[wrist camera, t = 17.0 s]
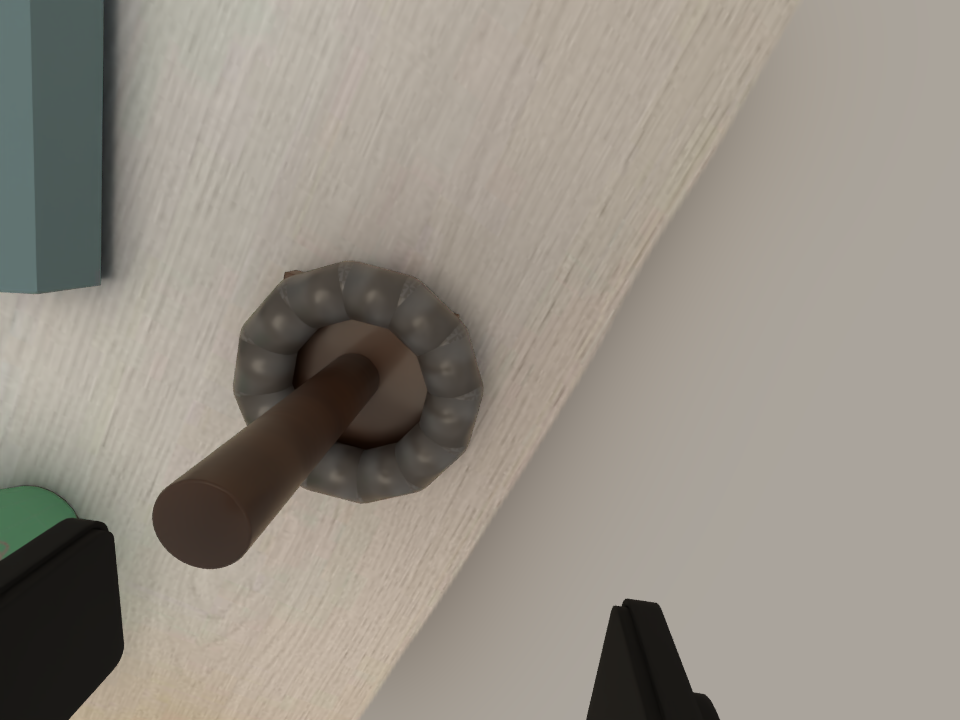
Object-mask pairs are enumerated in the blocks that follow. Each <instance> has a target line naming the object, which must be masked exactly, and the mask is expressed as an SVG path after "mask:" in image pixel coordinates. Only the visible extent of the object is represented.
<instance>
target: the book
mask: <svg viewBox="0 0 960 720" xmlns="http://www.w3.org/2000/svg"><path fill="white" fill-rule="evenodd" d="M103 16H104V0H0V292H10V293H28V294H40V293H48V292H55V291H62V290H69V289H76V288H84V287H91V286H98V285H101V209H102V113H103Z"/></svg>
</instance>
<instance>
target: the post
mask: <svg viewBox="0 0 960 720" xmlns="http://www.w3.org/2000/svg"><path fill="white" fill-rule="evenodd" d="M300 273H304V272H301V271H298V270H294V271H289V272H285V274H284V279H286V278H288V277H290V276H293V275H297V274H300ZM454 314H455V315H456V316H457V317H458V318H459V317H460V316H459V314H456V313H454ZM292 384H293V387H294V391H293V392H292V393H290V394H289V395H288V396H286V397H285V398H284V399H282V400H281V401H280V402H278V403H277V404H276V405H274V406H273V407H272V408H270V409H269V410H268V411H267V412H265V413H264V414H263V415H261V416H260V417H259V418H257V419H256V420H255V421H253V422H252V423H251V424H249V425H248V426H247V427H245V428H244V429H243V430H241V431H240V432H239V433H237V434H236V435H235V436H233V437H232V438H231V439H230V440H228V441H227V442H226V443H224V444H223V445H222V446H220V447H219V448H218V449H216V450H215V451H214V452H212V453H211V454H210V455H208V456H207V457H206V458H204V459H203V460H202V461H200V462H199V463H198V464H196V465H195V466H194V467H193V468H191V469H190V470H189V471H187V472H186V473H185V474H183V475H182V476H181V477H179V478H178V479H177V480H175V481H174V482H173V483H171V484H170V485H169V486H167V487H166V488H165V489H164V490H163V491H162V492H161V493H160V495H159V496H158V498H157V500H156V502H155V505H154V507H153V513H152V520H153V526H154V530H155V532H156V535H157V537H158V539H159V541H160V542H161V543H162V545H163V546H164V547H165V548H166V550H167V551H168V552H169V553H171V554H172V555H173V556H174V557H176V558H177V559H179V560H180V561H182V562H184V563H186V564H188V565H191V566H194V567H198V568H203V569H217V568H222V567H226V566H228V565H231V564H233V563H235V562H236V561H238V560H239V559H240V558H242V557H243V555H244V554H245V553H246V552H247V551H248V549H249V548H250V547H251V546H252V545H253V543H254V542H255V541H256V540H257V538H258V537H259V536H260V535H261V533H262V532H263V531H264V530H265V528H266V527H267V526H268V525H269V524H270V522H271V521H272V520H273V519H274V517H275V516H276V515H277V514H278V512H279V511H280V510H281V509H282V507H283V506H284V505H285V504H286V503H287V501H288V500H289V499H290V498H291V496H292V495H293V494H294V493H295V491H296V490H297V489H298V488H299V486H300V485H301V484H302V483H303V482H304V480H305V479H306V478H307V477H308V475H309V474H310V473H311V472H312V470H313V469H314V468H315V467H316V465H317V464H318V463H319V462H320V461H321V459H322V458H323V457H324V456H325V454H326V453H327V452H328V451H329V449H330V448H331V447H332V446H333V444H334V443H335V442H339V443H343V444H346V445H350V446H354V447H358V448H361V449H365V450H367V449H371V448H376V447H380V446H384V445H388V444H393V443H397V442H399V441H400V440H401V439H402V438H403V437H404V436H405V435H406V434H407V433H408V432H409V431H410V430H411V429H412V428H413V427H414V426H415V425H416V424H417V423H418V422H419V421H420V418H421V414H422V410H423V406H424V402H425V398H426V394H427V387H426V384H425V381H424V377H423V374H422V371H421V368H420V365H419V361H418V358H417V356H416V355H415V354H414V353H413V352H412V351H411V350H410V349H409V348H408V347H407V346H406V345H405V344H404V343H403V342H402V341H401V340H400V339H399V338H398V337H396V336H395V335H394V334H393V333H392V332H391V331H390V330H389V329H387V328H383V327H379V326H375V325H372V324H368V323H364V322H361V321H357V320H353V319H351V320H347V321H343V322H340V323H336V324H332V325H329V326H325V327H321V328H319V329H318V330H317V331H316V332H315V333H314V334H313V335H312V336H311V337H310V339H309V340H308V341H307V342H306V343H305V344H304V345H303V346H302V347H301V348H300V349H299V351H298V352H297V358H296V364H295V370H294V376H293V382H292Z"/></svg>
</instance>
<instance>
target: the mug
mask: <svg viewBox="0 0 960 720" xmlns="http://www.w3.org/2000/svg"><path fill="white" fill-rule="evenodd" d="M66 518H77V516H76V514H75V512H74V510H73V509H72V508H71V507H70V506H69V505H68V504H67V503H66V501H65V500H63V499H62V498H60V497H59V496H58V495H56V494H55V493H53V492H51V491H48V490H46V489H43V488H41V487H34V486H20V487H14V488H7V489H0V561H1V560H2V559H4V558H5V557H7V556H8V555H10V554H11V553H13V552H14V551H16V550H18V549H19V548H21V547H22V546H24V545H25V544H27V543H28V542H30V541H31V540H33V539H34V538H36V537H37V536H39V535H40V534H42V533H43V532H45V531H46V530H48V529H50V528H51V527H53V526H54V525H56V524H57V523H59V522H60V521H62V520H64V519H66Z"/></svg>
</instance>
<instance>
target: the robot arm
mask: <svg viewBox="0 0 960 720" xmlns="http://www.w3.org/2000/svg"><path fill="white" fill-rule="evenodd" d="M123 650H124V639H123V628H122V617H121V607H120V596H119V585H118V575H117V564H116V554H115V543H114V536H113V534H112V533H111V532H109V531H108V528H107V526H106V525H105V523H103V522H100V521H93V520H86V519H79V518H66V519H64V520H62V521H60V522H59V523H57V524H56V525H54V526H53V527H51V528H50V529H48V530H46V531H45V532H43V533H42V534H40V535H39V536H37V537H36V538H34V539H33V540H31V541H30V542H28V543H27V544H25V545H24V546H22V547H21V548H19V549H18V550H16V551H14V552H13V553H11V554H10V555H8V556H7V557H5V558H4V559H2V560H1V561H0V720H69V719H70V717H71V716H72V715H73V714H74V713H75V712H76V711H77V710H78V709H79V707H80V706H81V705H82V704H83V703H84V702H85V701H86V700H87V699H88V697H89V696H90V695H91V694H92V693H93V692H94V691H95V690H96V689H97V687H98V686H99V685H100V684H101V683H102V682H103V681H104V680H105V678H106V677H107V676H108V675H109V674H110V673H111V672H112V671H113V670H114V668H115V667H116V666H117V664H118V662H119V661H120V659H121V656H122V654H123ZM586 720H720V719H719V717H718V714H717V712H716V710H715V708H714V706H713V704H712V702H711V700H710V699H709V698H708V697H707V696H706V695H705V694H700V693H694V692H693V691H692V688H691V686H690V683H689V680H688V678H687V675H686V673H685V670H684V667H683V665H682V662H681V659H680V657H679V654H678V652H677V649H676V646H675V644H674V641H673V639H672V636H671V634H670V631H669V628H668V625H667V623H666V620H665V618H664V615H663V612H662V610H661V608H660V606H659V605H658V604H657V603H654V602H647V601H640V600H633V599H625V600H624V601H623V604H622V607H621V606H613V608H612V610H611V614H610V619H609V623H608V627H607V632H606V636H605V640H604V645H603V649H602V653H601V658H600V663H599V667H598V671H597V675H596V679H595V684H594V688H593V693H592V697H591V701H590V705H589V710H588V714H587V719H586Z"/></svg>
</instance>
